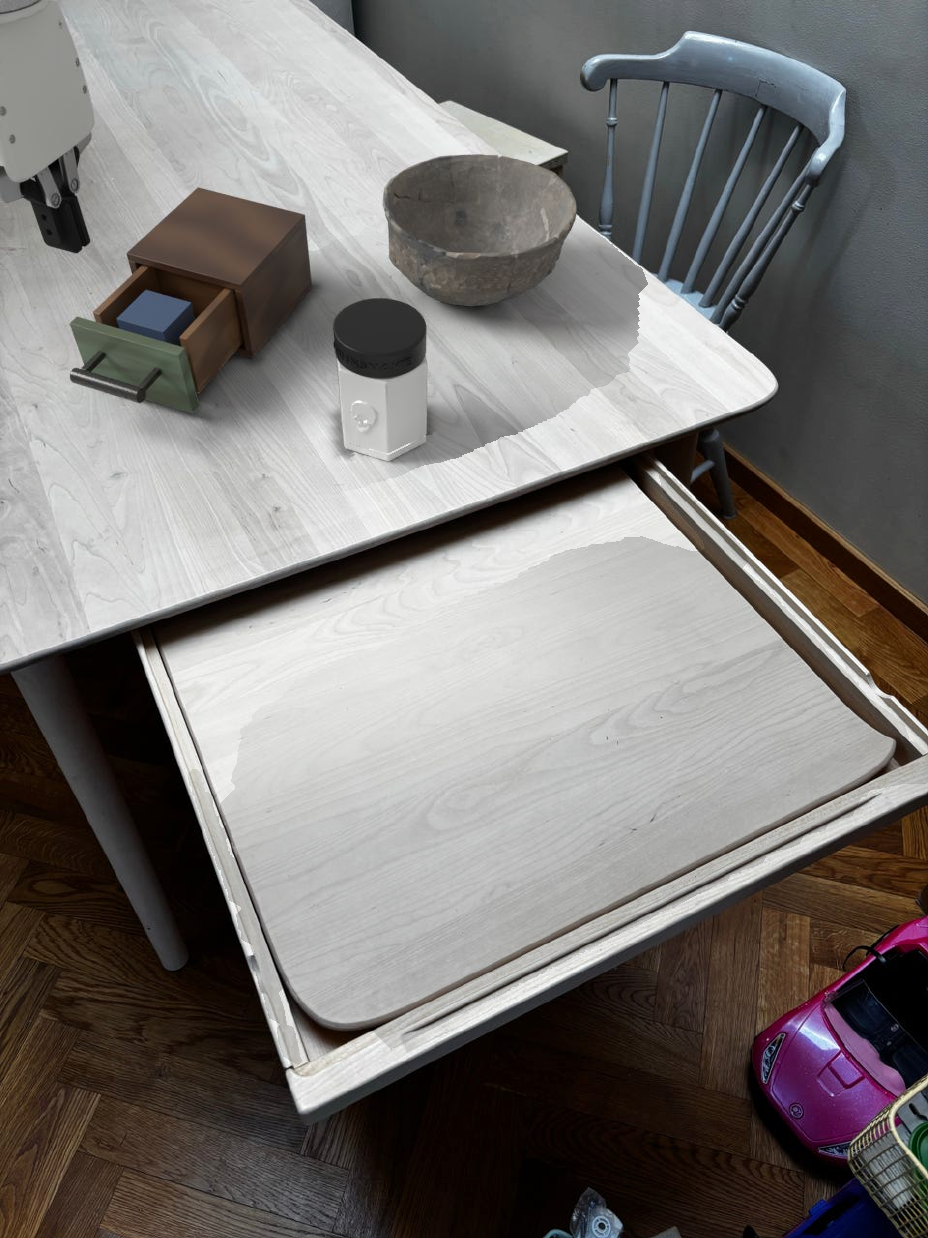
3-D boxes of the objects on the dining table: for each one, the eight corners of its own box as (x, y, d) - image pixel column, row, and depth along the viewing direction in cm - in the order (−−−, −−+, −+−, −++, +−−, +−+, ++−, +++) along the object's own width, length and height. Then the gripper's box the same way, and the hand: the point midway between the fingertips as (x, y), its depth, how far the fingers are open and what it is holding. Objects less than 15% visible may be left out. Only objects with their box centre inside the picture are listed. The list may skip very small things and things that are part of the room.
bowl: (523, 221, 111) (532, 138, 103) (595, 320, 100) (611, 236, 92) (360, 248, 106) (356, 163, 98) (416, 355, 95) (416, 269, 87)
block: (175, 380, 88) (163, 332, 84) (130, 366, 89) (116, 318, 85) (202, 350, 91) (191, 302, 87) (158, 337, 92) (145, 289, 87)
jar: (322, 444, 87) (311, 338, 77) (358, 392, 91) (352, 286, 82) (409, 471, 85) (408, 366, 75) (441, 417, 90) (445, 311, 80)
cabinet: (253, 358, 94) (240, 284, 87) (146, 327, 96) (125, 252, 89) (312, 287, 101) (305, 214, 94) (212, 260, 104) (197, 186, 97)
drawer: (169, 442, 85) (152, 384, 79) (63, 409, 87) (40, 350, 81) (256, 339, 94) (246, 280, 89) (159, 311, 96) (144, 252, 91)
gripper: (6, -71, 62) (83, 189, 77) (-155, 5, 54) (-34, 282, 69) (101, -52, 61) (160, 210, 76) (-49, 30, 53) (51, 307, 67)
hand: (68, 244), depth 72 cm, fingers closed
